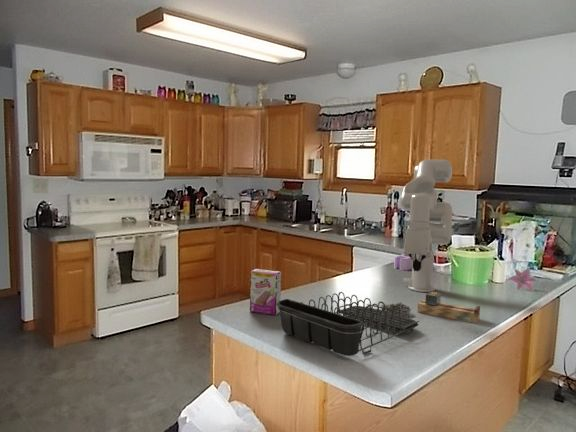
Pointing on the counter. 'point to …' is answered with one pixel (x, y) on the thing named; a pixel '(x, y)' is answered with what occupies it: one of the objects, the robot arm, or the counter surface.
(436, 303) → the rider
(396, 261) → the clip
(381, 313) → the dish rack
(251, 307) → the candy bar box
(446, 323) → the counter surface
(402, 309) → the egg carton
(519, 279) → the lily
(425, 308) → the rail
